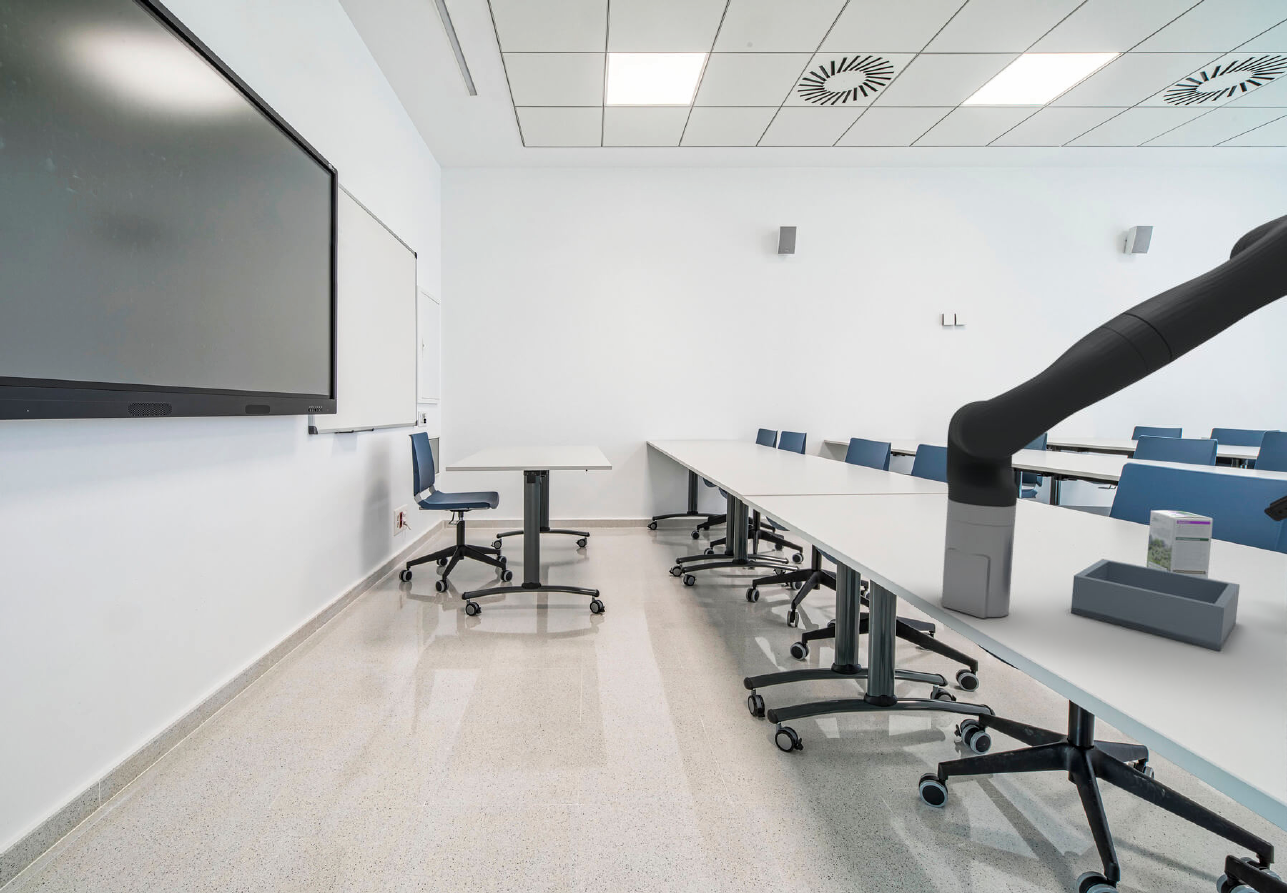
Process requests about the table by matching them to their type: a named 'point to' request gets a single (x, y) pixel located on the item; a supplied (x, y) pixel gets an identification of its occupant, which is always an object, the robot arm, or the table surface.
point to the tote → (1157, 602)
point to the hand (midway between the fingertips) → (1272, 513)
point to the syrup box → (1179, 542)
